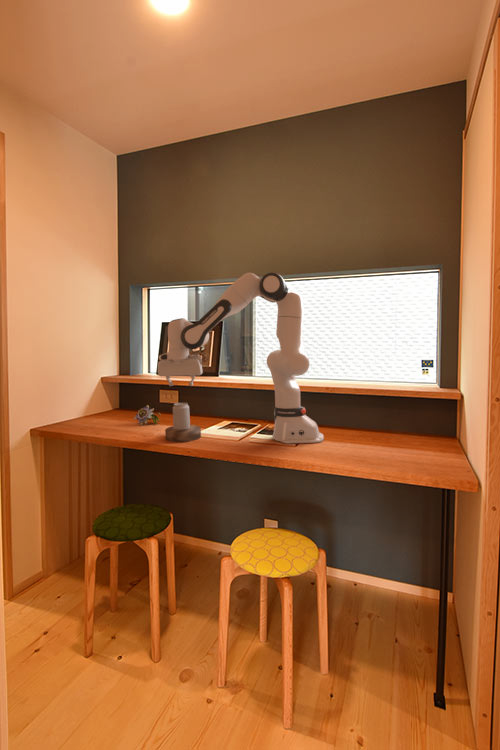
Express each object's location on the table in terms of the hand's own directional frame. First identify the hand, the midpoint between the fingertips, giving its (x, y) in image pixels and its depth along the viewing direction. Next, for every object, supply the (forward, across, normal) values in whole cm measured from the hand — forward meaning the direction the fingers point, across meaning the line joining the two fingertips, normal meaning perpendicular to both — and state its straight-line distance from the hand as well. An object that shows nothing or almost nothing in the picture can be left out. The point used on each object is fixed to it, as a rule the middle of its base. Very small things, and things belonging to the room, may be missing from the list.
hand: (181, 385), depth 183 cm
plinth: (+24, 0, 0) cm, 24 cm away
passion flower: (+24, +29, -26) cm, 46 cm away
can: (+20, 0, +1) cm, 20 cm away
